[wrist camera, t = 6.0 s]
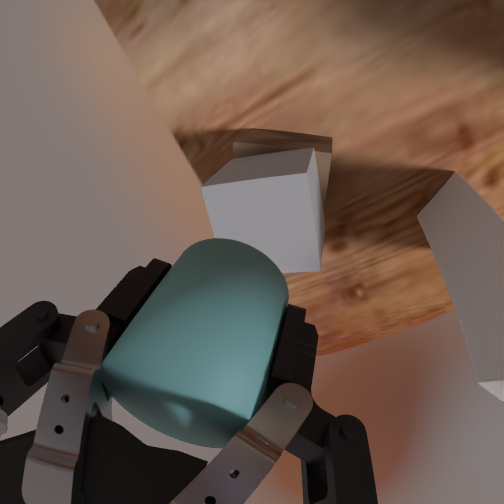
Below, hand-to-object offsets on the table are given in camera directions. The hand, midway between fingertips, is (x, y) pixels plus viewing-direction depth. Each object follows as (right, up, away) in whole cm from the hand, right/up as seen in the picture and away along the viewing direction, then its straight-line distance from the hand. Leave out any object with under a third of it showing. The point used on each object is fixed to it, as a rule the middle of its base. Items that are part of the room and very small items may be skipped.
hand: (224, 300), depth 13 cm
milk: (+20, +6, +13) cm, 25 cm away
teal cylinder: (0, 0, +1) cm, 1 cm away
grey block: (+3, +6, +10) cm, 12 cm away
